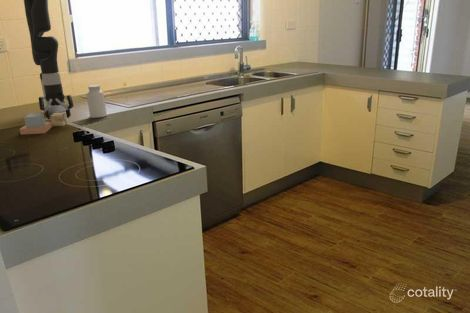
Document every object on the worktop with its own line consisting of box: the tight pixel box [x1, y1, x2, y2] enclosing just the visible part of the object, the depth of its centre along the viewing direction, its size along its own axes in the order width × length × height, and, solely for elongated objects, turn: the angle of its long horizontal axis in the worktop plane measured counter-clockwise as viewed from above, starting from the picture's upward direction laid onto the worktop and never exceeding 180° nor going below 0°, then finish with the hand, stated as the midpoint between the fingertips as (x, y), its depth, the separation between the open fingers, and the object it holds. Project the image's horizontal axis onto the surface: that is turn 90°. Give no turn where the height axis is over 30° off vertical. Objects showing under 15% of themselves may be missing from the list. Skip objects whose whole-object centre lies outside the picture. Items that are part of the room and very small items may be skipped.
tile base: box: [19, 121, 53, 135], centre depth 184 cm, size 10×10×2 cm
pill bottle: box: [86, 84, 107, 119], centre depth 203 cm, size 8×8×15 cm
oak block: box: [50, 112, 68, 127], centre depth 192 cm, size 5×5×5 cm
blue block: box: [23, 112, 46, 127], centre depth 183 cm, size 6×6×4 cm
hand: (58, 118), depth 192 cm, fingers open, 8 cm apart
